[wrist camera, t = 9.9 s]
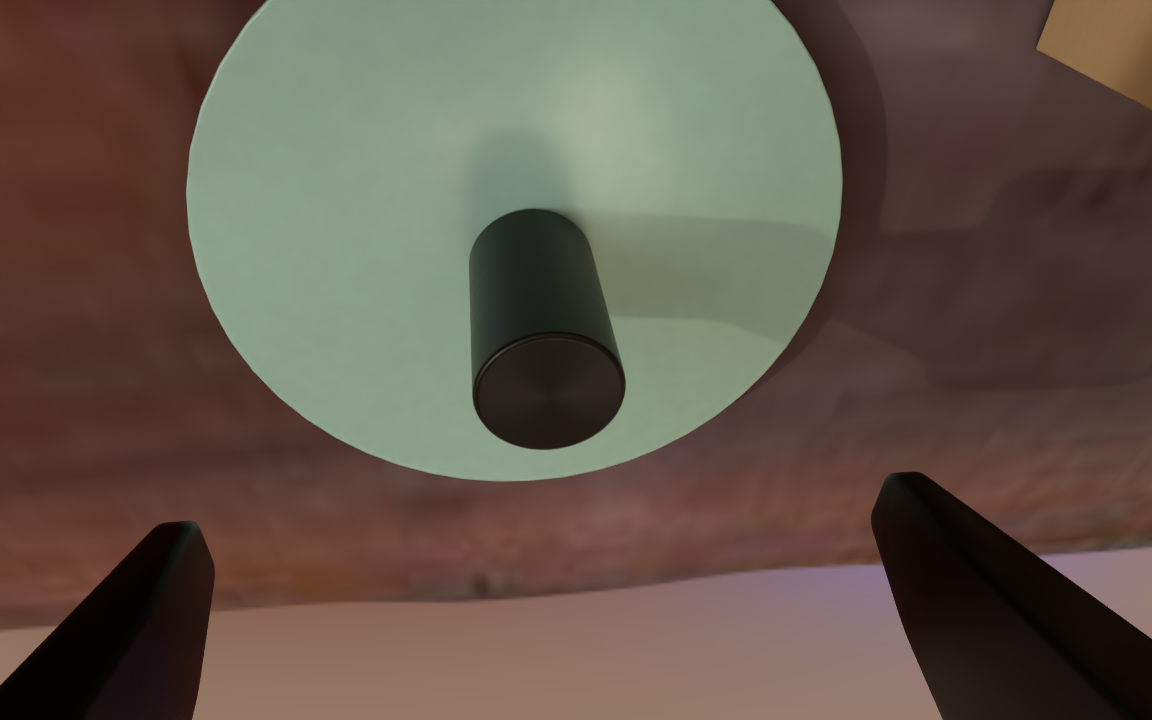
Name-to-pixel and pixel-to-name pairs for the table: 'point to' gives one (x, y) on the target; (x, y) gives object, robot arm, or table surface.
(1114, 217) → the table surface
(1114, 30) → the block
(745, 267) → the lid
